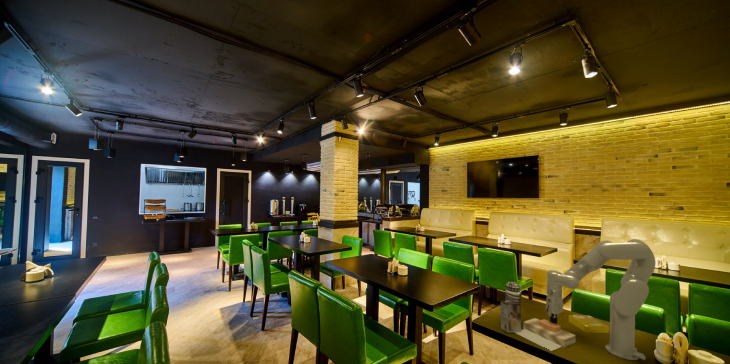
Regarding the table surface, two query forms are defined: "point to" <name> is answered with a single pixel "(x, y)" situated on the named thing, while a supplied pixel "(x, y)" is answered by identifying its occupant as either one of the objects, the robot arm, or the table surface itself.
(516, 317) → the coffee box
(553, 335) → the beige brown rectangular block
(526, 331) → the mat
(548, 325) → the orange rectangular block
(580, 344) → the table surface
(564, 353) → the table surface
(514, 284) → the decorative candle
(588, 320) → the element tile
